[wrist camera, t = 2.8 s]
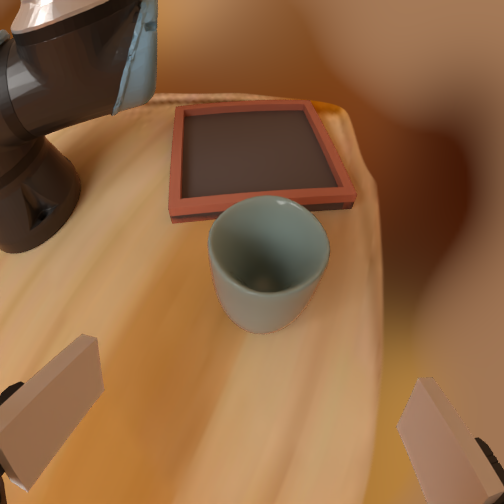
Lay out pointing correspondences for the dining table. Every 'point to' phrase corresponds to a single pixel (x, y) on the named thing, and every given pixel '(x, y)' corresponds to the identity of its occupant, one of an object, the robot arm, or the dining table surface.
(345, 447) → the dining table surface
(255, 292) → the cup
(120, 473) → the dining table surface
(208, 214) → the tray
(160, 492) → the dining table surface
